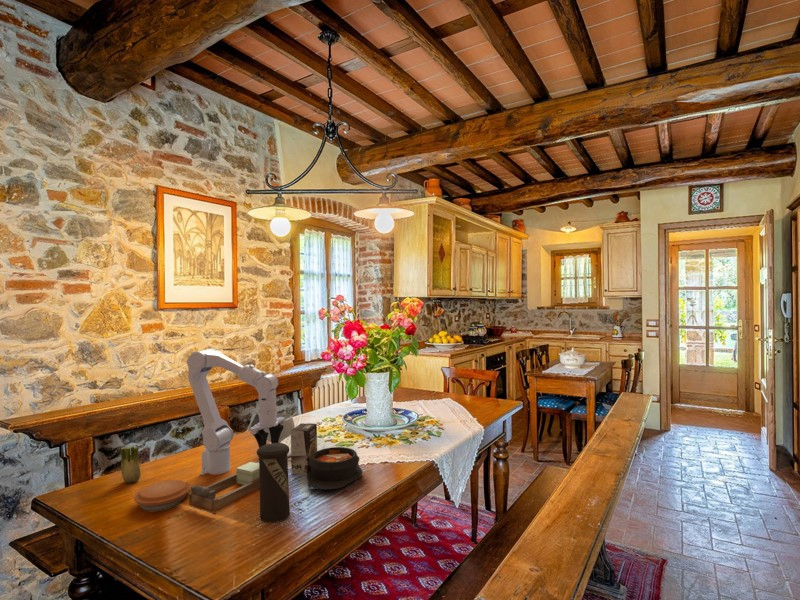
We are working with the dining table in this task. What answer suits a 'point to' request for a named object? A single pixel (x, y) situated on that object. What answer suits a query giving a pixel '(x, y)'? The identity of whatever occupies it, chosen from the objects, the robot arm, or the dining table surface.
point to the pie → (162, 495)
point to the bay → (207, 494)
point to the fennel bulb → (130, 464)
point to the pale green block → (247, 473)
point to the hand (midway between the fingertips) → (268, 448)
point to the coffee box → (303, 447)
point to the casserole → (333, 468)
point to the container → (274, 482)
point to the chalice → (286, 430)
